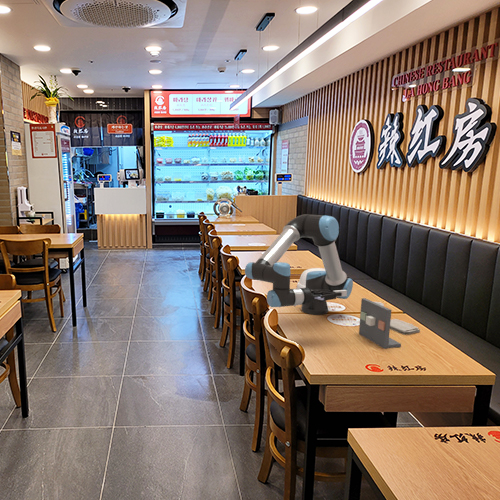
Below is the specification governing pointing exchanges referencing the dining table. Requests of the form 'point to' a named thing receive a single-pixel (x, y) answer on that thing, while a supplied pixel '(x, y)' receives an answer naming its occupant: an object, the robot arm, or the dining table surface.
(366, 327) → the button panel
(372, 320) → the ivory button
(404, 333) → the washcloth
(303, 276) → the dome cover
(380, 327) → the terracotta button
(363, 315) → the sage button
